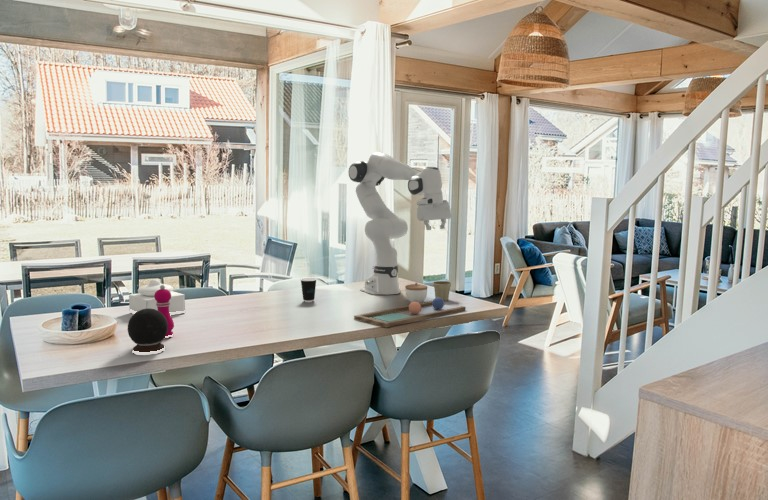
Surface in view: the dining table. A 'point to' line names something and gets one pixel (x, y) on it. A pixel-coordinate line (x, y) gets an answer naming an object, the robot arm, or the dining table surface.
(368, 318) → the guard rails
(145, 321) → the black ball on stand
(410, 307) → the coral ball
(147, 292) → the butter dish
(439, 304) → the blue ball
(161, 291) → the pepper mill
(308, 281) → the dixie cup
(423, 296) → the lidded jar
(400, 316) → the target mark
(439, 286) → the flower pot
